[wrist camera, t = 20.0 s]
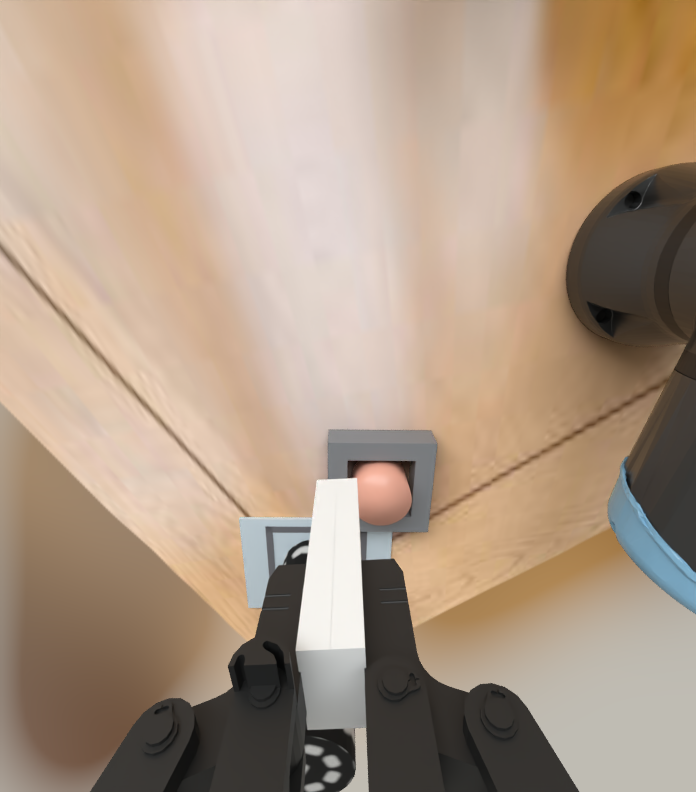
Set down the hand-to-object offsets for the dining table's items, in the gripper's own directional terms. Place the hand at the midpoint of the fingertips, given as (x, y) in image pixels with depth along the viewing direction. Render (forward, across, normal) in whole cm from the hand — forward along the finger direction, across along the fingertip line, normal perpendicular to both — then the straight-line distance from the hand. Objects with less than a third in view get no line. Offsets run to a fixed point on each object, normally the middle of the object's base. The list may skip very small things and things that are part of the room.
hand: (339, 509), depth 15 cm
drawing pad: (+25, -5, -27) cm, 37 cm away
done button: (+25, +3, -15) cm, 29 cm away
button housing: (+25, +3, -15) cm, 30 cm away
